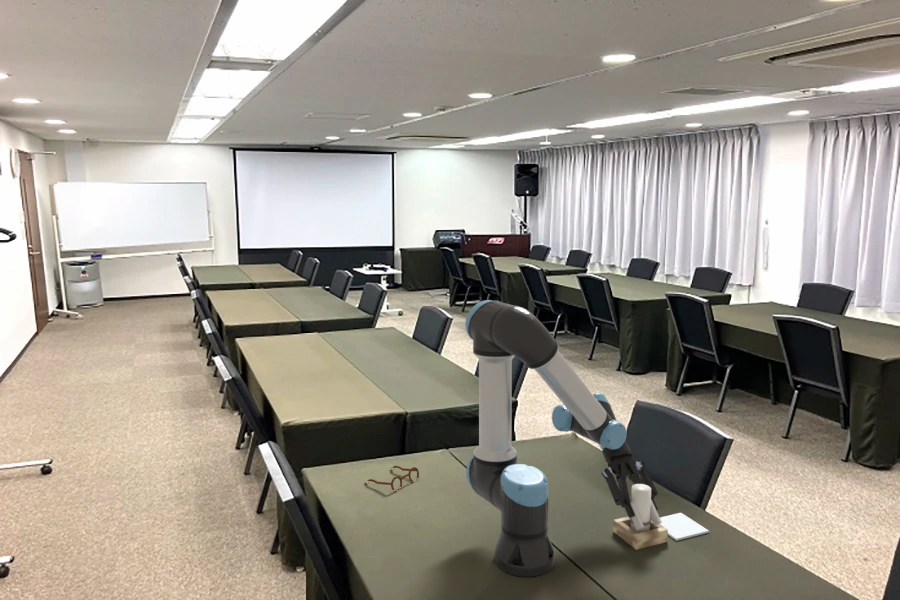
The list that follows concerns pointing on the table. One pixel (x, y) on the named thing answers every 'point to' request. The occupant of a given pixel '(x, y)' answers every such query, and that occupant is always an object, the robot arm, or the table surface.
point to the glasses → (398, 477)
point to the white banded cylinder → (642, 505)
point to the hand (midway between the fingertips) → (649, 526)
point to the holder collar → (639, 534)
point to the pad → (681, 526)
